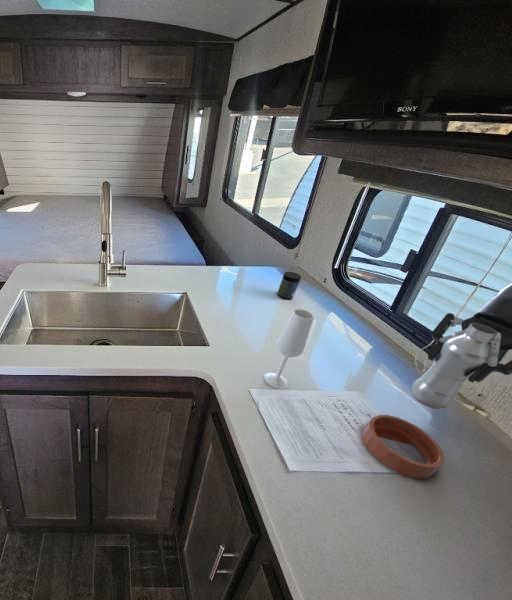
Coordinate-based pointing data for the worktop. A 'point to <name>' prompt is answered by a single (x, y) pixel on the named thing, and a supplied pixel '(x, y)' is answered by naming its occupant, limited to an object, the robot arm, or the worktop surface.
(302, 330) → the champagne flute
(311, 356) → the worktop surface
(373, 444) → the ring
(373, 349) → the worktop surface
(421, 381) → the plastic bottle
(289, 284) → the supplement container
